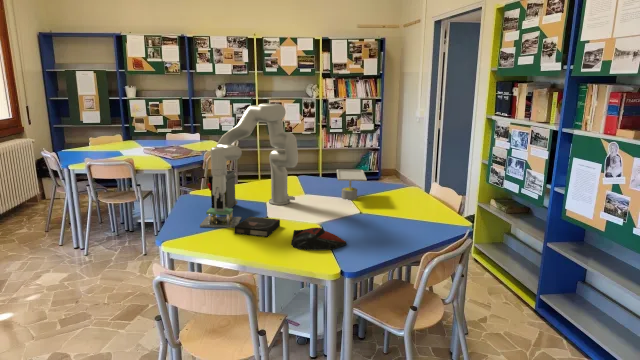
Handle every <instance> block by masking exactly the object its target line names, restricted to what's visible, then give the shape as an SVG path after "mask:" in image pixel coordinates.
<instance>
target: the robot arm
mask: <svg viewBox="0 0 640 360" xmlns="http://www.w3.org/2000/svg"><path fill="white" fill-rule="evenodd" d="M286 113H287V112H286V108H285V107H284V105H283V104H281V103H280V104H279V103H266V102H263V103H259V104H258V105H256V104H253V105H249V106H248V107H247V108H246V109H245V111H244V113H243V114H242V116H241V118H240V119H239V121H238V123H237V124H236V125H235V126H234V127H233V128H231V129H229V130H228V131H227V132H226V133H224V134H223V135H221V138H219V140H218V142H217V143H216V146H212V147H211V148H210V164H211V165H210V167H211V168H210V169H211V171H210V173H211V175H212V176H213V184H212V194H213V196H214V195H215V194H216V207H217V209H223V201H222V195H223V194H224V193H225V191H226V177H225V175H227V171H228V167H227V166H228V162H227V161H237V160H239V159H240V158H241V157H242V149H241V147H239V146H237V145H233V143H235V142H236V141H240V140H241V139H245V138H247V137H249V136H251V134H252V133H253V131H254V129H255V128H256V126H257V125H258V123H266V124H267V128H268V135H269V136H268V137H269V143H270V146H271V147H272V148H275V149H273V150H272V151H270V153H269V156H268V160H269V165H270V178H271V179H270V184H271V190H270V191H271V195H270V197H271V198H270V199H268V203H269V204H270V205H275V206H279V205H280V206H283V205H289V204H290V203H291V201H295V200H296V196H294V195H289V193H288V170H287V168H289V169H292V168H295V167H297V165H298V162H299V153H298V151H299V150H298V141H297V140H298V139H297V137H296V136H295V135H294V134H293V133H291V132H288V131H287V132H286V131H285V129H284V124H283V119H284V118H285V116H286ZM219 194H220V195H219ZM219 196H221V197H219Z"/></svg>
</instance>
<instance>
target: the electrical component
mask: <svg viewBox="0 0 640 360" xmlns="http://www.w3.org/2000/svg"><path fill="white" fill-rule="evenodd" d="M237 175H238V174H237V173H236V172H235V171H234V170H227V175H225V177H226V191H225V193H224V194H225V208H229V209H232V208H233V207H235V206H236V205H237V204H238V200H237V199H236V179H235V178H237V177H238V176H237ZM212 184H213V176H212V174H211V175H209V176H208V183H207V186H208V190H209V191H210V194H211V195H210V197H211V198H210V199H211V208H214V196H213V194H212Z"/></svg>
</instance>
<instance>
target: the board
mask: <svg viewBox="0 0 640 360" xmlns="http://www.w3.org/2000/svg"><path fill="white" fill-rule="evenodd" d="M219 195H220V194H219ZM219 197H221V196H219ZM222 201H223V209H217V207H216V194H215V195H214V208H212V207H209V209H207V211H205V212H206V215H209V214H211V215H212V214H214V215H216V216H217V215H219V216H221V215H223V216H227V214H229V215H231V213H232V212H233V213H234V208H230V209H229V208H225V194H223V195H222Z"/></svg>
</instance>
